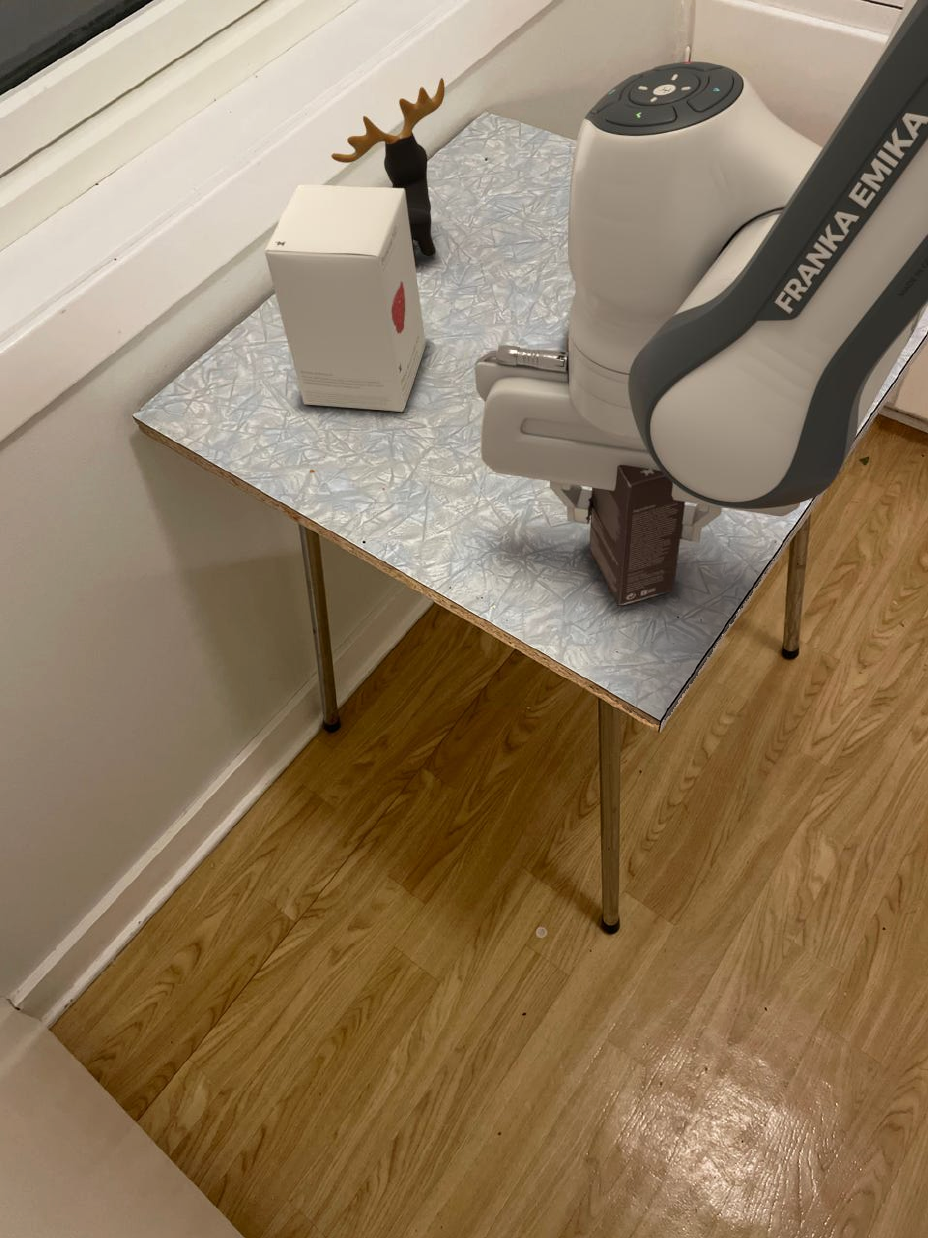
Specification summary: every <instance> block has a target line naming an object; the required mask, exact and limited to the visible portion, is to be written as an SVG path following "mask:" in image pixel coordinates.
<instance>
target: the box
mask: <svg viewBox="0 0 928 1238" xmlns="http://www.w3.org/2000/svg"><path fill="white" fill-rule="evenodd" d="M672 488H673V482H672V481H671V480H669V479H668V478H667V477H666V476H665V474H664V473H663V472H662V471H657V470H652V469H646V468H640V467H633V466H626V465H619V466H617V476H616V486H615V490H614V491H611V490H605V489H598V488H592V487H591V490H592V491H594V498H593V511H592V515H591V516H590V522H589V524H590V525H589V526H590V527H589V550H590V552H591V554H592V556H593V558H594V560H595V562H596V564H597V567H598V569H599V570H600V572H601V575H602V576H603V578H604V580H605V582H606V584H607V586H608V588H609V589H610V592H611V593H612V595H613V597H614V600H615V601H616V603H617V605H618V606H625V605H631V604H633V603H636V602H637V603H638V602H640V601H645V600H648V599H649V598H653V597H657V596H658V595H662V594H665V593H668V592H670V591H673V590H674V586H675V580H676V572H677V566H678V559H679V551H680V543H681V539H680V536H681V529H682V522H683V515H684V508H685V505H686V502H683V501H676V500H674V499H673V497H672V495H671V494H672Z"/></svg>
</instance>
